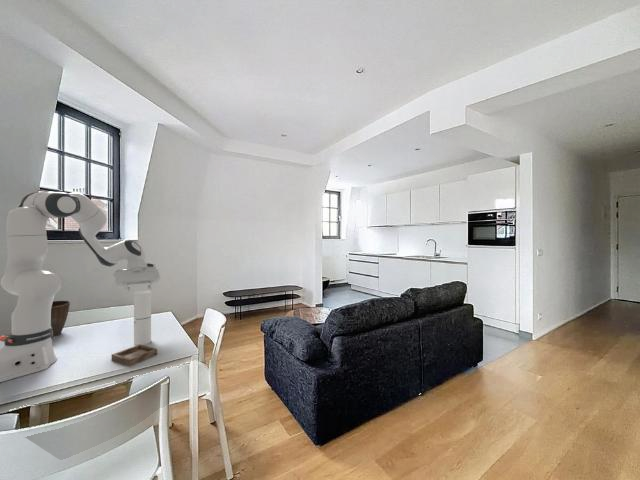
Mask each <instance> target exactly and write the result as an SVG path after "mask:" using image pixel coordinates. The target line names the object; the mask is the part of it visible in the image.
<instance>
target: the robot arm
mask: <svg viewBox="0 0 640 480" xmlns="http://www.w3.org/2000/svg"><path fill="white" fill-rule="evenodd" d="M68 217H71V218H72V219H73V220H74V221H75V222H76V223H77V224H78V226H79V228H78V234H79V236H80V237H81V239H82V241H83V242H84V243H85V244H86V245H87V247H88V248H89V249H90V251H92V253H93V254H94V255H95V256H96V259H97V260H98V261H99V264H101V265H103V266H105V267H113V266H115V265H117V264H119V263H121V262H123V261H125V260H126V268H127V269H117V270H115V271H114V272H113V276H114V285H115V286H116V287H120V286H123V288H124V289H125V290H126V292H130V291H131V286H132V285H133V286H134V285H142V284H143V285H144V284H148V285H147V290H151V289H152V286H153V284H155V283H159V282H160V281H161V275H160V272H159V269H157V266H156V264H155V263H150V262H146V256H145V251H144V248H143V246H142V245H141V244H139V243H137V242H136V241H133V240H131V239H124V240H122V241H119V242H117V243H115V244H112V245H110V246H104V245H103V244H102V243H101V242H100V240H99V238H97V234H99V232H100V231H102V229H103V228H104V227H105V225H106V224H107V219H108V218H107V215H106V213H105V212H104V211H103V210H102V208H101V207H99V205H97V204H96V203H95V202H94V201H93V200H92V199H90V198H89V197H87V196H86V195H85V194H83V193H81V192H70V193H67V192H63V191H41V192H40V191H39V192H31V193H28V194H26V195H25V196H24V197H23V198H22V199H21V201H20V204H19V206H18V207H16V208H12V209H11V210H9V212H8V214H7V217H6V225H5V231H6V232H5V235H6V248H7V260H6V265H5V266H6V267H5V269H4V275H2V277H1V278H0V286H1V288H2V289H3V290H4V291H6V292H8V293H9V294H10V295H14V296H18V298H17V302H16V303H17V304H16V305H15V308H14V311H12V313H11V316H10V317H11V319H10V320H11V333H10V334H8V335H1V336H0V342H2V343H4V345H3V346H1V347H0V383H2V382H6V381H9V380H14V379H16V378H19V377H20V378H21V377H23V376H27V375H30V374H31V375H32V374H33V373H34V374H35V373H37V372H41V371H45V370H47V369H48V368H49V366H51V365H53V364H54V363H55V362H56V361H57V356H56V354H55V351H54V346H53V342H52V341H53V337H54V336H53V330H52V327H51V307H52V303H53V301H55V300H54V299H55V296H56V294H57V293H58V292H60V289H61V287H62V279H61V278H60V276H59V275H57V274H56V273H54V272H52V271H48V270H43V266H44V262H45V259H46V257H47V256H48V254H49V249H48V248H49V247H48V236H47V228H46V226H47V222H48V221H49V219H57V218H58V219H59V218H60V219H61V218H63V219H64V218H68Z"/></svg>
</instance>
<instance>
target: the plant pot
mask: <svg viewBox="0 0 640 480" xmlns="http://www.w3.org/2000/svg"><path fill="white" fill-rule="evenodd" d="M70 304H71V301H69V300H53V303H52V307H51V327H52V330H53V337H54V336H58V335H60V334H61V333H62V332H63V331H64V330H63V329H64V328H65V325H66V322H67V318H68V315H69V312H70V311H69V310H70Z"/></svg>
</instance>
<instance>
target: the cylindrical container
mask: <svg viewBox="0 0 640 480" xmlns="http://www.w3.org/2000/svg"><path fill="white" fill-rule="evenodd" d="M151 342H152V291H151V290H138V291H134V292H133V345H134V346H136V345H139V344H141V345H144V346H146V345H148V344H150V343H151Z"/></svg>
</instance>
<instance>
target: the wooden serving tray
mask: <svg viewBox="0 0 640 480" xmlns="http://www.w3.org/2000/svg"><path fill="white" fill-rule="evenodd" d="M155 356H158V348H155V347H151V346H147V345H141V344H139V345H134V346H132V347H129V348H126V349H123V350H121V351H117V352H114V353H113V354H112V353H111V361H112V362H115V363H118V364H121V365H124V366H127V367H131V366H134V365H136V364H138V363H140V362H143V361H145V360H147V359H151V358H153V357H155Z"/></svg>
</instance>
